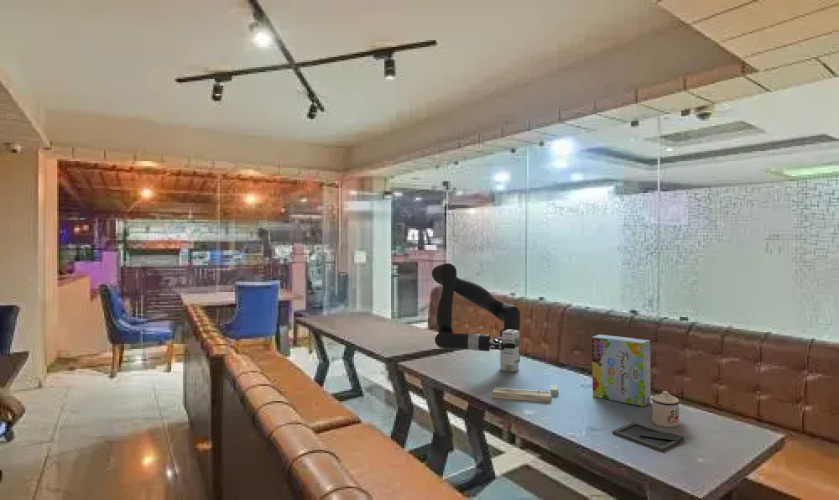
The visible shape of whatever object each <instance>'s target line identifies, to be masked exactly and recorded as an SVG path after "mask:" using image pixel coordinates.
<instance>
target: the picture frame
mask: <svg viewBox="0 0 839 500" xmlns="http://www.w3.org/2000/svg"><path fill="white" fill-rule="evenodd" d="M612 435H615V436H616V437H621V438H624V439H626V440H629V441H631V442H634V443H637V444H639V445H642V446H645V447H648V448H650V449H653V450H655V451H658V452H661V453H664V452H666V451H667V450H669V449H671V448H674V447H676V446H679V444H680V445H681V443H684V442H685V437H684V436H681V435H679V434H675V433H673V432H666V431H663V430H662V429H661V430H660V429H657V428H654V427H651V426H648V425H645V424H642V423H639V422H636V421H633V422H631V423H629V424H627V425H624V426H622V427H619V428H617V429H614V430H612Z"/></svg>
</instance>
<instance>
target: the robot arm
mask: <svg viewBox="0 0 839 500" xmlns="http://www.w3.org/2000/svg"><path fill="white" fill-rule="evenodd" d="M457 273H458V272H457V268H456V266H455V265H454V264H452V263H450V262H446V263H442V264H440V265H437V266H435V267H434V268H433V269H432V270H431V277H432V279H433V280H434V281H435V283H437V284H438V285H441V286H442V291H441V295H440V298H439V302H438V305H437V309H436V325H437V328H438V333H437V334H436V336H435V337H434V343H435V345H436V346H438V348H440V349H441V348H442V349H459V350H467V351H468V350H471V351H479V352H490V350H499V361H500V362H499V365H500V366H499V370H500V371H501V372H502V371H503V372H507V373H510V372H511V373H514V372H518V371H519V370H520V367H519V366H520V365H519V363H520V362H519V363H517V364H515V365H509V364H504V363H503V350H504V349H506V348H507V349H515V344H513V343H503V342H502V332H503V331H506V330H508V329H509V330H518V331H519V332H520V330H521V312H520V309H519V308H518V307H517V306H516V305H512V304H508V303H505V302H502V301H500V300H499V299H496V298H495V297H494V296H493V295H492V294H491V292H490V291H488V290H487V289H486V288H485V287H483V286H482V285H480V284H478V283H477V282H474V281H471V280H467V279H464V278H461V277H459V276H457V275H458V274H457ZM454 292H455V293H456V294H458V295H459V296H461V297H463V298H464V299H466V300H467V301H469V302H470V303H472V304H474V305H476V306H477V307H479V308H481V309H483V310H486V311H488V312H489V313H490V314H492V315H493V316H494V317H496V318H497V319H498V320H500V321H501V322H503V328H502V329H500V330H499V336H495V337H494V338H491V335H490V334H489V333H487V334H486V333H453V327H452V326H453V325H452V322H453V302H454V301H453V300H454V295H455V293H454Z"/></svg>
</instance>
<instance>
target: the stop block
mask: <svg viewBox="0 0 839 500" xmlns="http://www.w3.org/2000/svg"><path fill="white" fill-rule="evenodd" d="M549 388H550V389H549V391H551V396H552V397H553V396H555V397H557V396H558V394H559V393H558V392H559V389H558V388H559V386H558V385H557V384H550V386H549Z"/></svg>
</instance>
